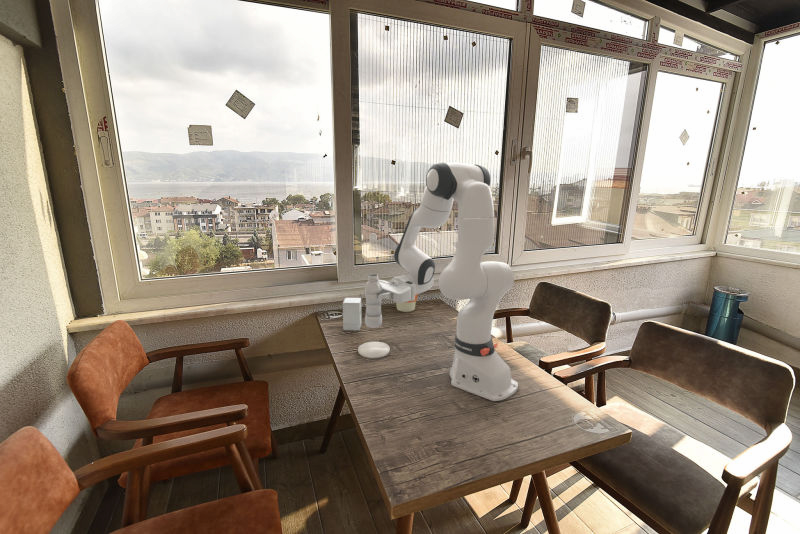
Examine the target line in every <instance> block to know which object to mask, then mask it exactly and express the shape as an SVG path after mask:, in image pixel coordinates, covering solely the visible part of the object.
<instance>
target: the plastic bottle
mask: <svg viewBox="0 0 800 534" xmlns="http://www.w3.org/2000/svg"><path fill="white" fill-rule="evenodd" d="M379 280H380V279H379V274H378V273H377V274H376V273H370V274H368V276H367V282H368V283H367V282H366V285H365V288H364V296H365V304H366V305H365V316H364V324H365V326H366V327H367V328H370V329H373V328H374V329H376V328H379V327H381V326H382V324H383V316H382V299H381V300H379V299H377V294H380V293H381V294H382V290H383V289H382V286H381V285H380V283H379V282H378V281H379Z"/></svg>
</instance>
